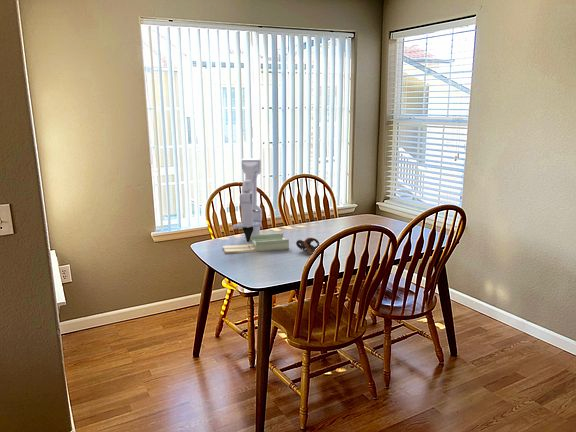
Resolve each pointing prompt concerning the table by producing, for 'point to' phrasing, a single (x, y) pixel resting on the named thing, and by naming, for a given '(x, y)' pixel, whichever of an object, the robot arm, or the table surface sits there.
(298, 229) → the table surface
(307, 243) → the brown looped figurine
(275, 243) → the green tray
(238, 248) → the cover plate
